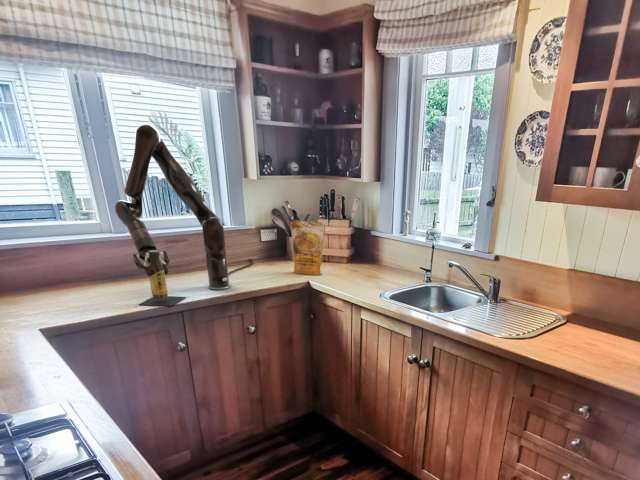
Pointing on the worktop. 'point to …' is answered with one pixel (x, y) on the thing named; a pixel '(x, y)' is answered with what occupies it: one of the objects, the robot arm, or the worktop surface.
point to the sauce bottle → (157, 276)
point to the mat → (163, 301)
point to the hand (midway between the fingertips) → (158, 274)
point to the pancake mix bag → (307, 246)
